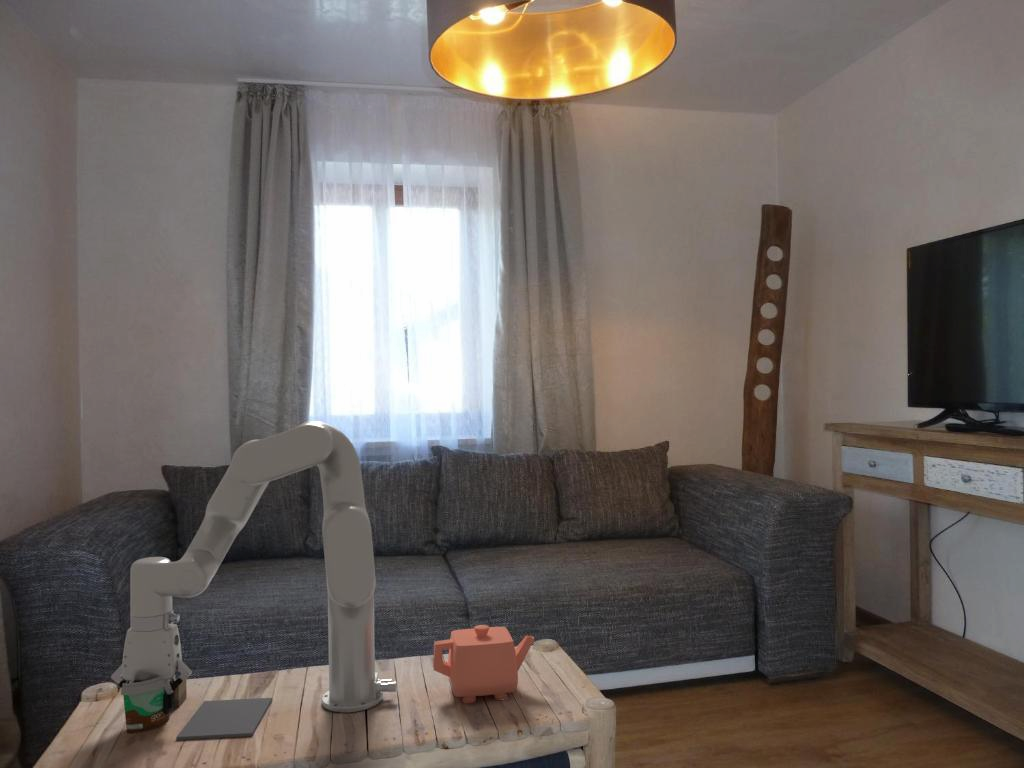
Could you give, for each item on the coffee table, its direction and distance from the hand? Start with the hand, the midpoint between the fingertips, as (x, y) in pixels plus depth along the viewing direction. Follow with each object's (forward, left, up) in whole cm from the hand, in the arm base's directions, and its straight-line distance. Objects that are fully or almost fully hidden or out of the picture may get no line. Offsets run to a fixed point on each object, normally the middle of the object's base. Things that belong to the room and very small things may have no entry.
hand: (151, 711), depth 148 cm
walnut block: (-1, -9, -2) cm, 9 cm away
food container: (-1, 0, -3) cm, 3 cm away
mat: (-15, 0, -2) cm, 15 cm away
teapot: (-67, -7, -3) cm, 67 cm away
